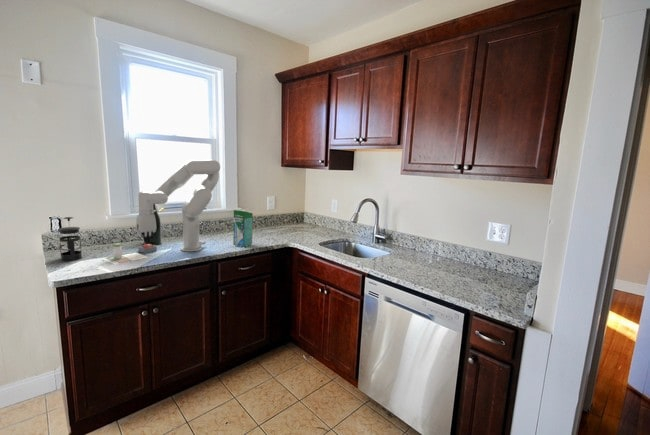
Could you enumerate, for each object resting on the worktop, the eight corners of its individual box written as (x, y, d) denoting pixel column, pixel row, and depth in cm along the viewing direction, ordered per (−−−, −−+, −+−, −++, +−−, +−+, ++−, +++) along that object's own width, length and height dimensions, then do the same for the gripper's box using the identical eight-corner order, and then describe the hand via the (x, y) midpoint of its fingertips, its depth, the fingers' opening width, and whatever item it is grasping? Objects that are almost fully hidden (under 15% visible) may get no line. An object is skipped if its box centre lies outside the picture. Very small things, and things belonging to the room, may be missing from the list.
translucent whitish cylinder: (120, 256, 177) (119, 242, 176) (123, 258, 175) (122, 243, 174) (112, 258, 174) (111, 244, 173) (115, 259, 172) (114, 245, 171)
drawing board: (136, 253, 189) (136, 251, 188) (151, 258, 180) (151, 256, 180) (98, 261, 172) (98, 259, 172) (113, 267, 163) (113, 265, 163)
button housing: (150, 250, 196) (150, 244, 195) (156, 252, 192) (156, 246, 192) (138, 253, 190) (138, 246, 189) (145, 255, 186) (144, 248, 186)
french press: (59, 257, 174) (56, 216, 170) (80, 255, 180) (77, 215, 177) (61, 263, 166) (58, 219, 162) (84, 260, 172) (81, 218, 169)
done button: (149, 248, 194) (148, 243, 193) (152, 249, 192) (152, 244, 191) (142, 249, 190) (142, 244, 190) (146, 250, 188) (146, 246, 188)
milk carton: (252, 245, 222) (252, 209, 219) (243, 247, 214) (244, 211, 210) (241, 243, 226) (242, 208, 222) (233, 245, 218) (233, 209, 214)
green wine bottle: (161, 244, 211) (160, 195, 206) (143, 246, 206) (141, 195, 201) (161, 241, 220) (159, 193, 215) (143, 242, 215) (142, 193, 210)
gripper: (154, 210, 196) (155, 239, 198) (129, 212, 183) (130, 243, 186) (162, 212, 192) (162, 241, 194) (136, 214, 179) (137, 246, 182)
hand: (146, 242), depth 190 cm, fingers closed
